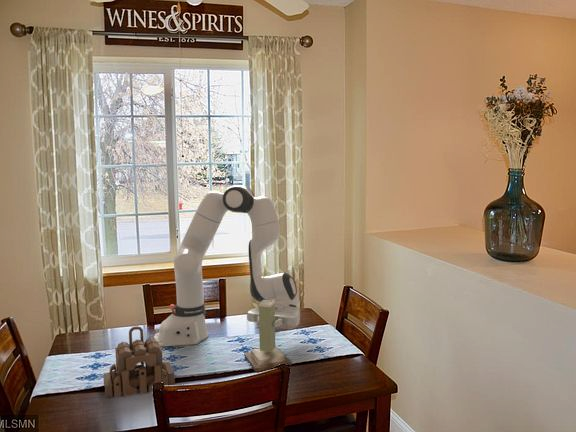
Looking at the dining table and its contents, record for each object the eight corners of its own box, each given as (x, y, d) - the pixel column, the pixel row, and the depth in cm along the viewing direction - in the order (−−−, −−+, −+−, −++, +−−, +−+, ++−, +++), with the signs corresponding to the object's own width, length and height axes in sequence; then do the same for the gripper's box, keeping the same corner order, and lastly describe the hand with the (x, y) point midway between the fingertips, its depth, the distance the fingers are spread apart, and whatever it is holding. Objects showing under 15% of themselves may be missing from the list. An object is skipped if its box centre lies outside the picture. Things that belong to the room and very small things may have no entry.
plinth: (255, 371, 175) (255, 363, 175) (244, 356, 188) (244, 348, 188) (291, 365, 180) (291, 356, 180) (278, 350, 193) (278, 343, 193)
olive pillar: (259, 350, 182) (258, 303, 180) (264, 345, 187) (263, 299, 184) (271, 352, 181) (270, 304, 178) (275, 347, 185) (274, 300, 183)
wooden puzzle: (106, 401, 156) (103, 345, 153) (103, 381, 169) (100, 329, 166) (176, 387, 164) (174, 334, 162) (168, 369, 178) (166, 320, 175)
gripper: (254, 301, 197) (240, 312, 184) (303, 306, 191) (292, 318, 178) (254, 317, 198) (240, 329, 185) (303, 322, 192) (292, 335, 179)
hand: (266, 323), depth 182 cm, fingers closed on olive pillar, 4 cm apart
